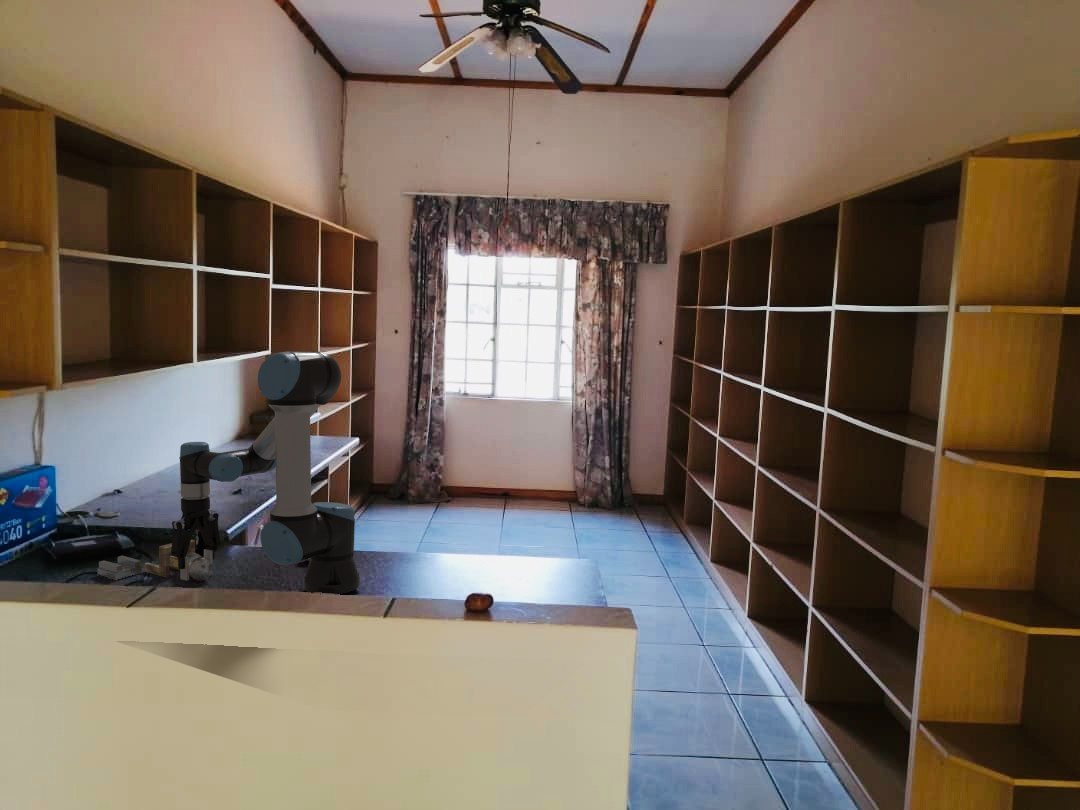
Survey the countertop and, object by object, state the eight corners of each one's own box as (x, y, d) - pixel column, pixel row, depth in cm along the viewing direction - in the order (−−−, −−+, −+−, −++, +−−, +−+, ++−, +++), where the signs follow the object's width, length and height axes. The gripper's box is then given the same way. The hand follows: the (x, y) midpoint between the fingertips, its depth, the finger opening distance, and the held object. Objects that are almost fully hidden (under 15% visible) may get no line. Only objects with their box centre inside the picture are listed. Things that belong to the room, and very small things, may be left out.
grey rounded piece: (211, 580, 218) (214, 559, 218) (190, 581, 213) (192, 560, 213) (199, 572, 224) (202, 551, 224) (178, 573, 220) (180, 552, 220)
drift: (188, 574, 222) (197, 571, 225) (188, 565, 222) (196, 562, 224) (164, 568, 226) (173, 566, 229) (164, 559, 226) (172, 557, 229)
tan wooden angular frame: (195, 568, 227) (194, 540, 226) (166, 577, 218) (165, 548, 217) (173, 563, 231) (173, 535, 230) (144, 571, 223) (144, 542, 222)
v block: (141, 572, 221) (141, 560, 221) (115, 580, 214) (115, 567, 214) (124, 567, 225) (123, 555, 225) (97, 575, 218) (97, 562, 217)
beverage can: (210, 552, 242) (209, 515, 241) (191, 550, 244) (191, 513, 243) (222, 547, 249) (222, 511, 248) (204, 545, 250) (204, 509, 249)
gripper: (215, 489, 227) (217, 564, 229) (154, 501, 209) (156, 583, 212) (233, 492, 224) (234, 568, 226) (172, 505, 206) (174, 588, 208)
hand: (196, 575), depth 219 cm, fingers closed on grey rounded piece, 7 cm apart
